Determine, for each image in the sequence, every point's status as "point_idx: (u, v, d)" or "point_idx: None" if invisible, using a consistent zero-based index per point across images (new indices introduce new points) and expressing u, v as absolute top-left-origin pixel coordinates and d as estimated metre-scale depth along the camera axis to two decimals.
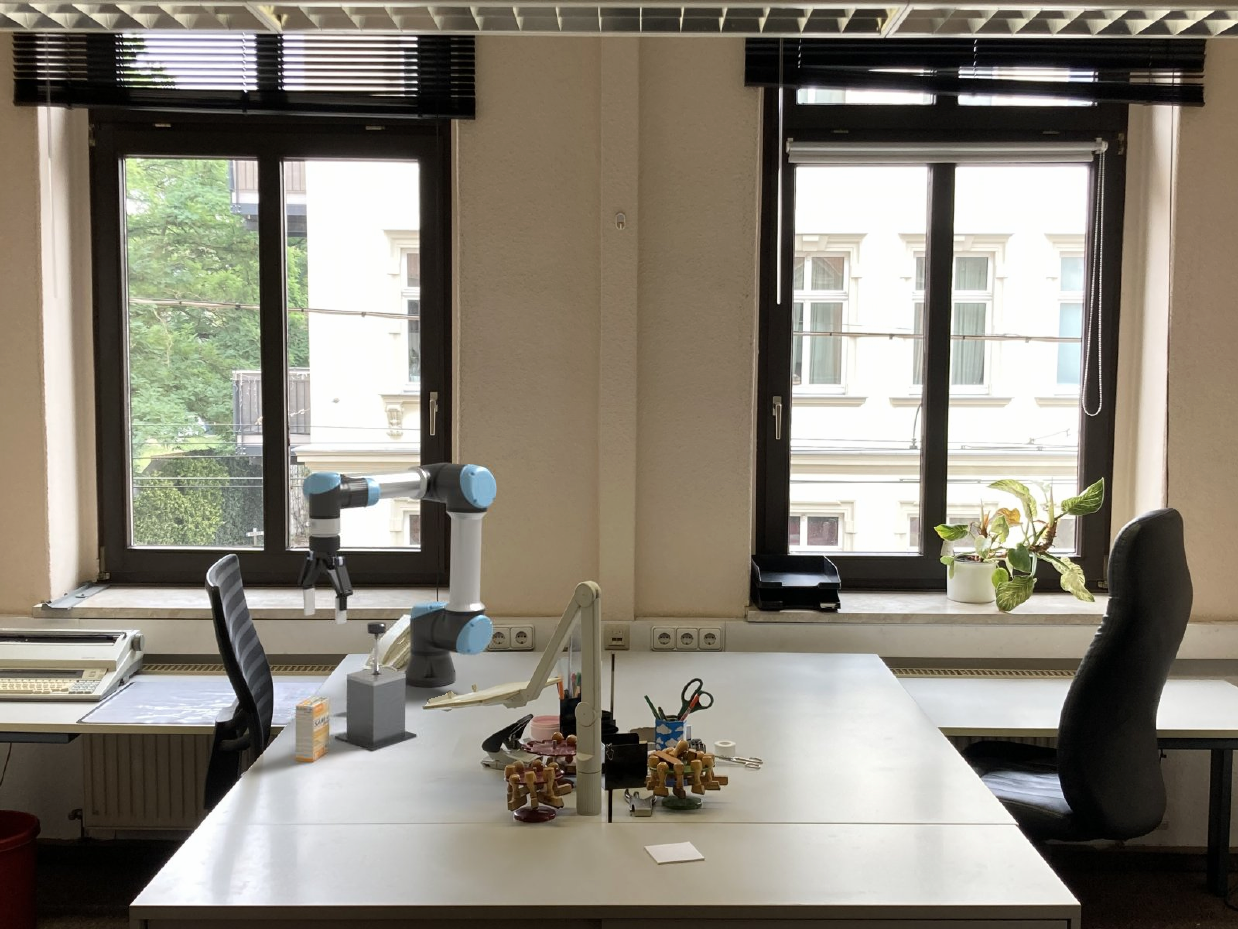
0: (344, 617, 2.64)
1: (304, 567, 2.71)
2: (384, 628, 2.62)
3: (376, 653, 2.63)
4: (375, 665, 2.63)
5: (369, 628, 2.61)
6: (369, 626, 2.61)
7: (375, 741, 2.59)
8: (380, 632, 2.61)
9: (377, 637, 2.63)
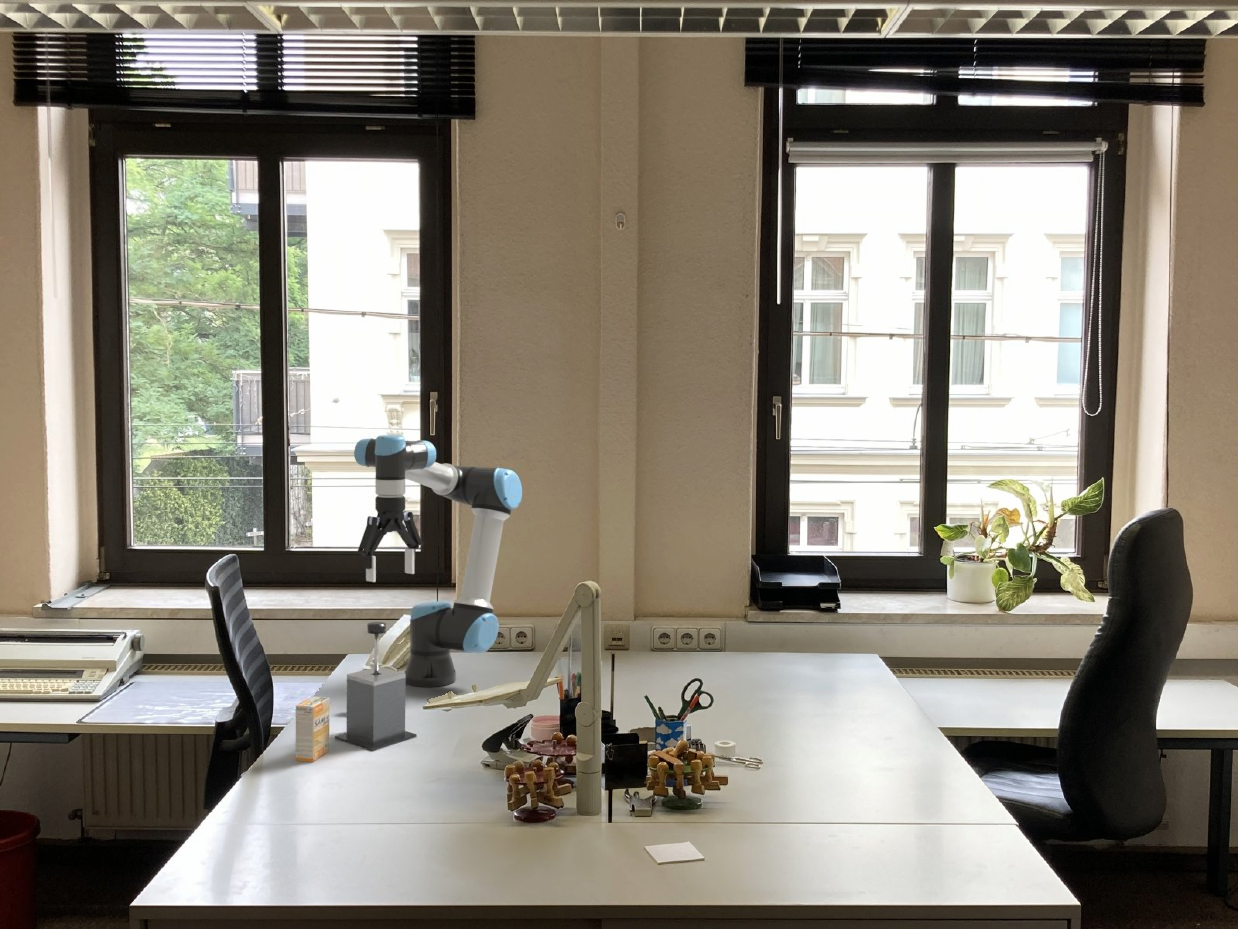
0: (372, 576, 2.71)
1: None
2: (384, 628, 2.62)
3: (376, 653, 2.63)
4: (375, 665, 2.63)
5: (369, 628, 2.61)
6: (369, 626, 2.61)
7: (375, 741, 2.59)
8: (380, 632, 2.61)
9: (377, 637, 2.63)
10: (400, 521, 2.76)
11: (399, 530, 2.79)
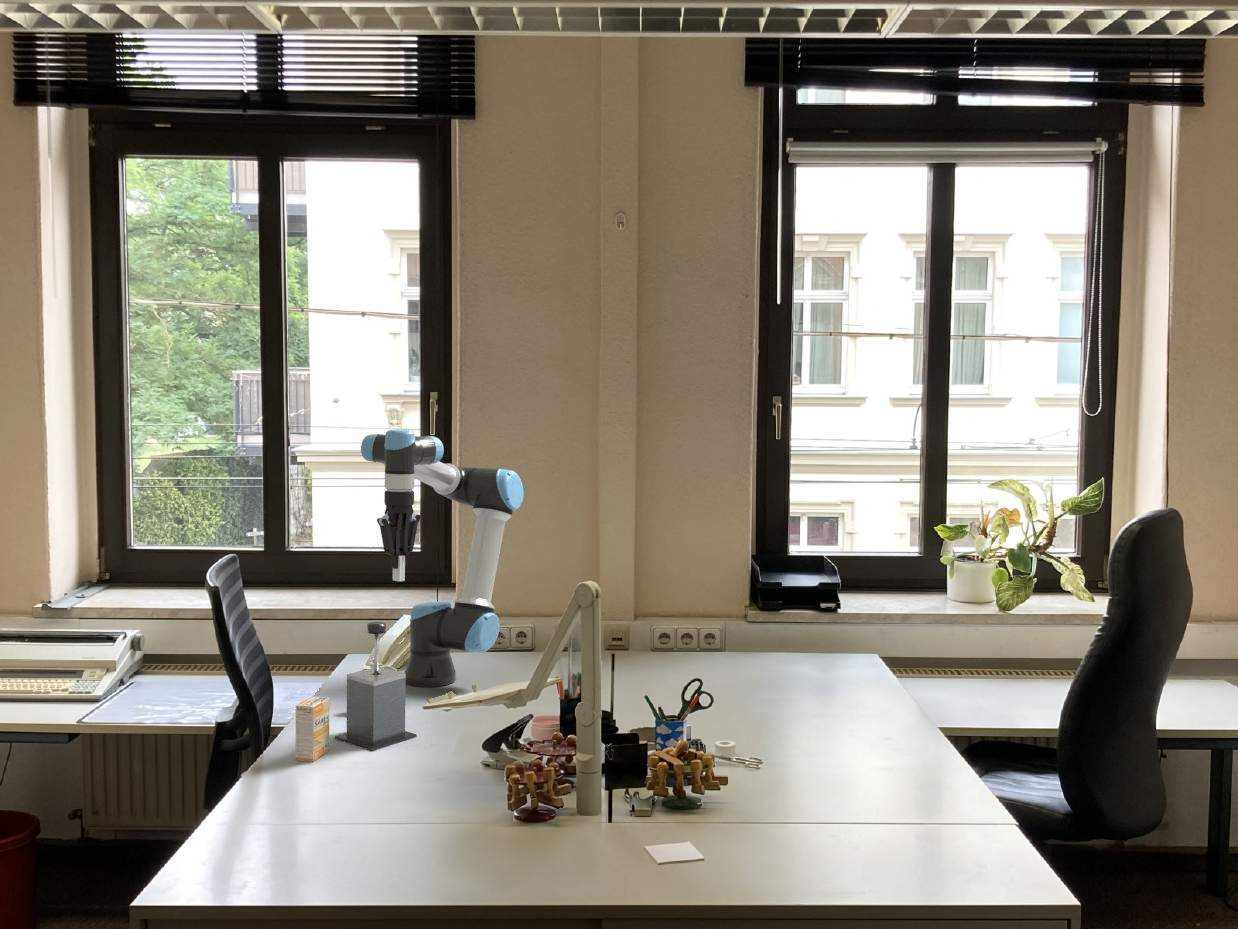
0: (398, 575, 2.77)
1: None
2: (384, 628, 2.62)
3: (376, 653, 2.63)
4: (375, 665, 2.63)
5: (369, 628, 2.61)
6: (369, 626, 2.61)
7: (375, 741, 2.59)
8: (380, 632, 2.61)
9: (377, 637, 2.63)
10: (408, 516, 2.77)
11: (401, 527, 2.78)
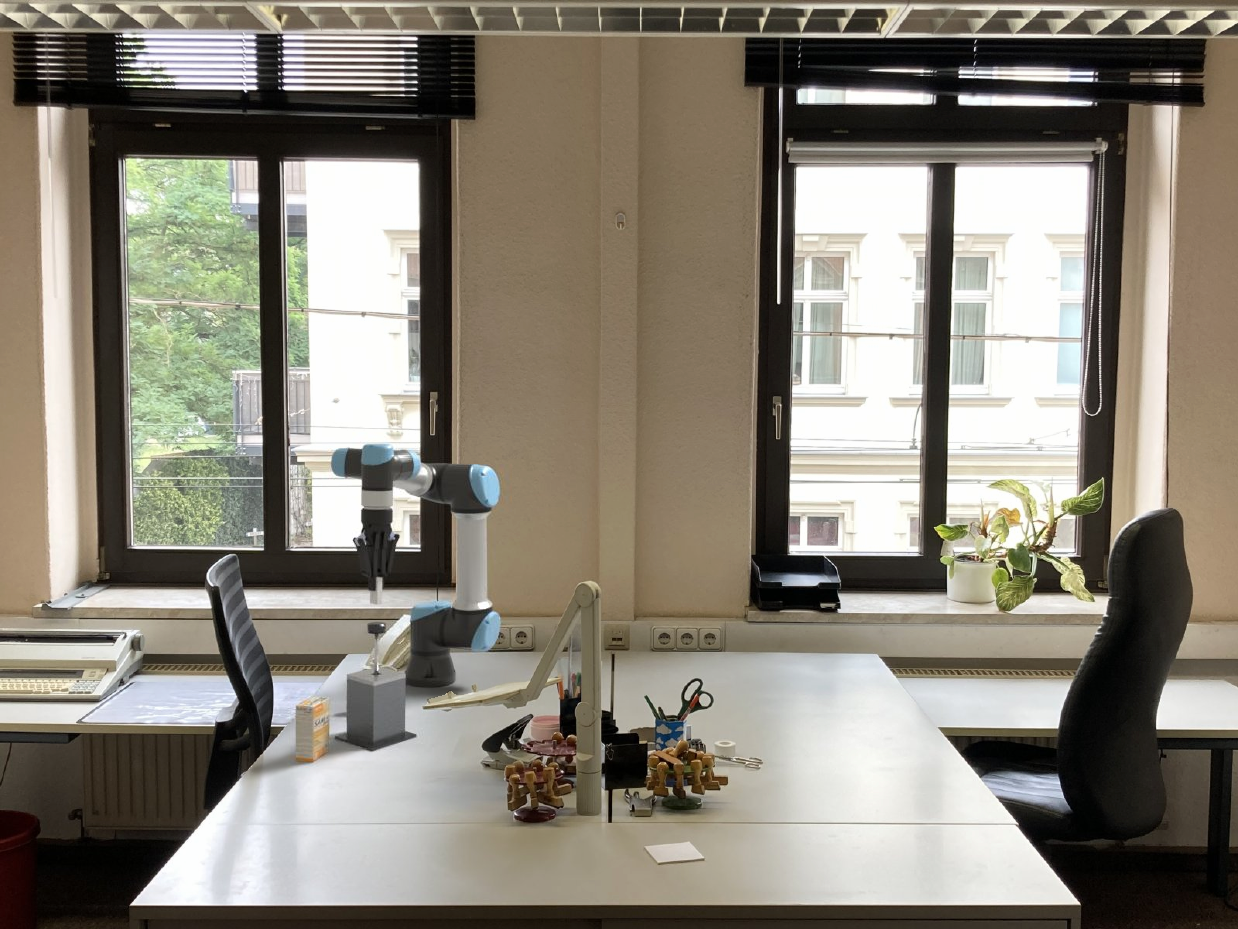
0: (375, 598, 2.61)
1: None
2: (384, 628, 2.62)
3: (376, 653, 2.63)
4: (375, 665, 2.63)
5: (369, 628, 2.61)
6: (369, 626, 2.61)
7: (375, 741, 2.59)
8: (380, 632, 2.61)
9: (377, 637, 2.63)
10: (386, 535, 2.61)
11: (379, 547, 2.62)
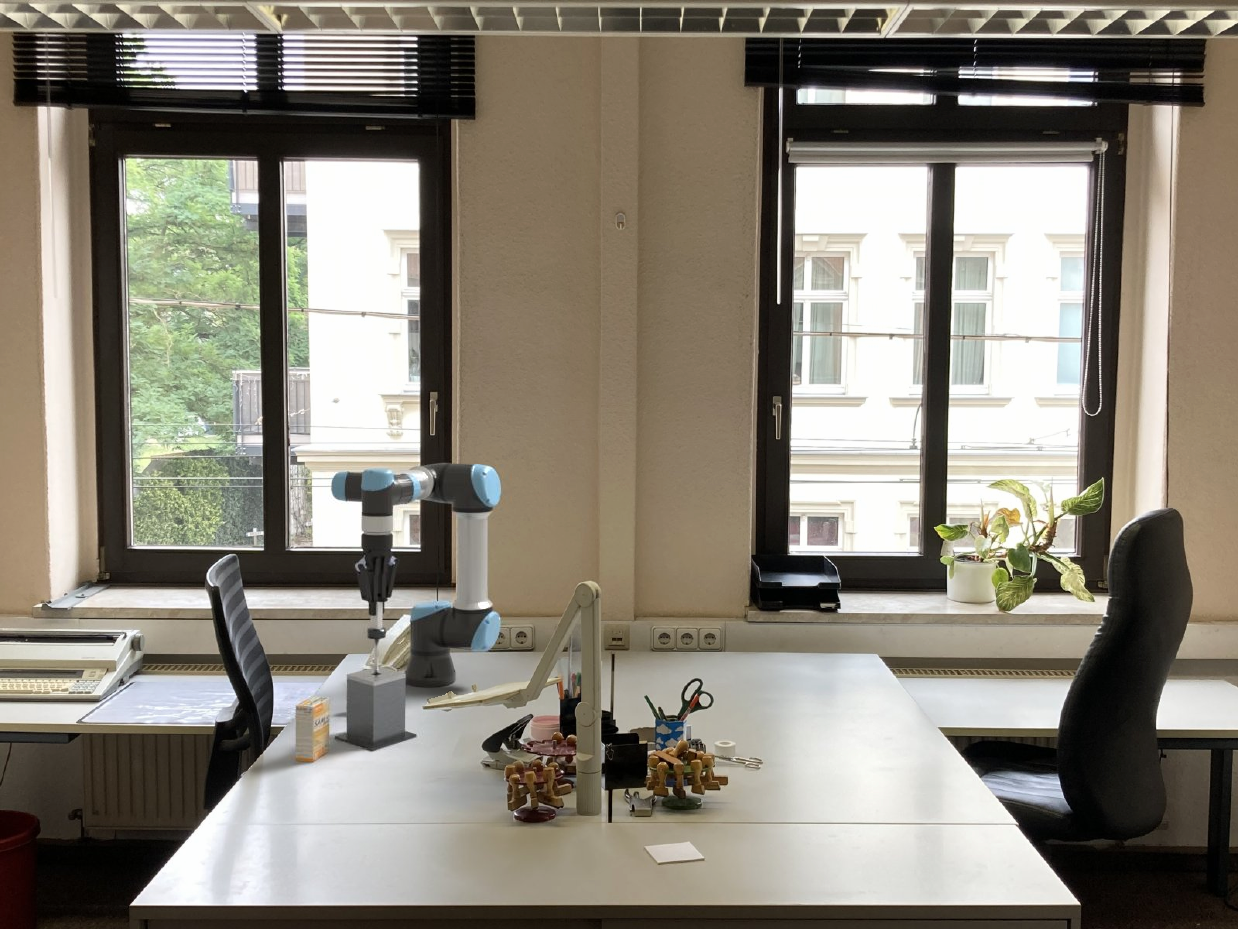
0: (376, 623, 2.62)
1: None
2: (384, 633, 2.62)
3: (376, 658, 2.63)
4: (375, 670, 2.63)
5: (369, 633, 2.61)
6: (369, 631, 2.61)
7: (375, 741, 2.59)
8: (380, 637, 2.61)
9: (377, 642, 2.63)
10: (386, 560, 2.62)
11: (379, 572, 2.62)
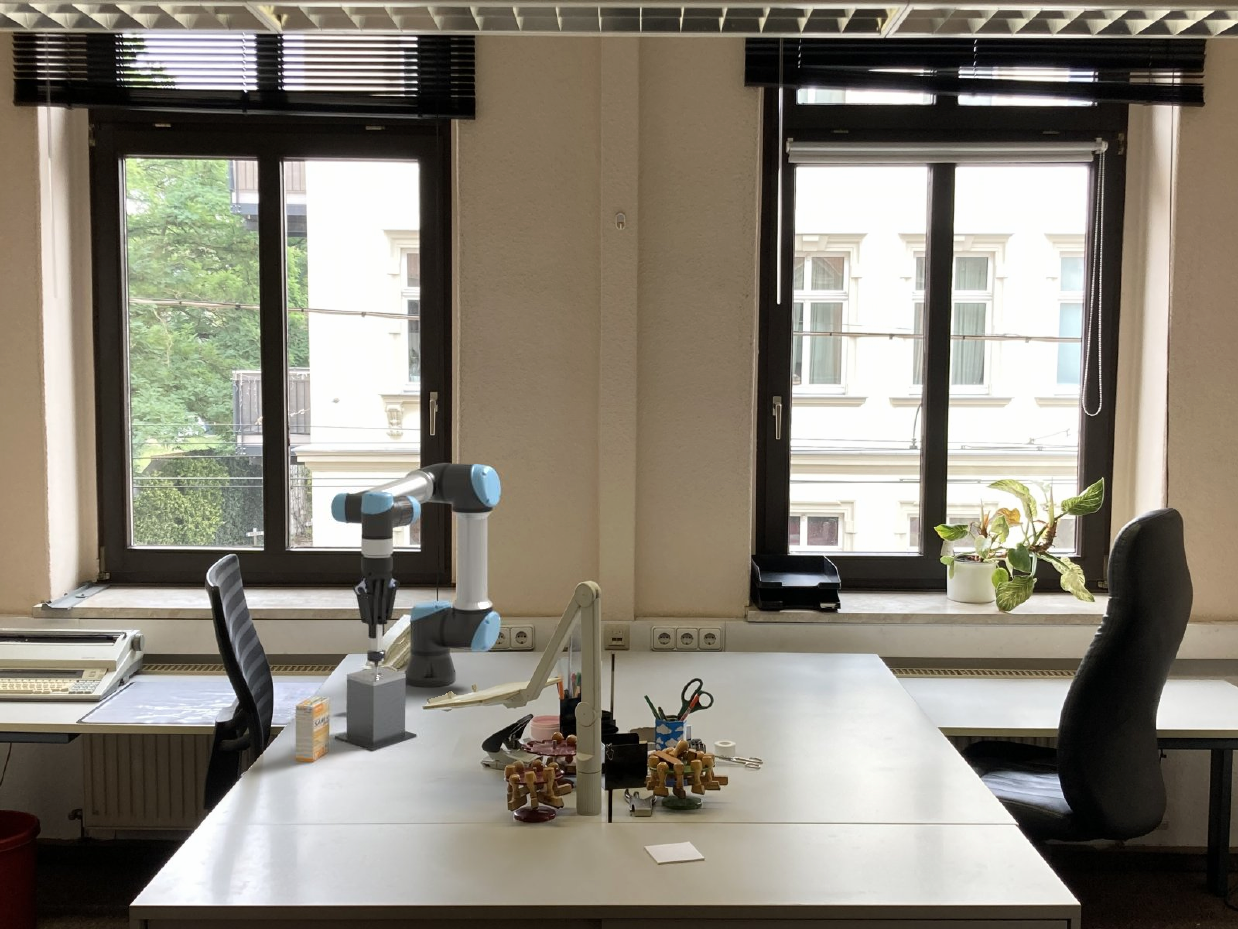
0: (376, 646, 2.62)
1: None
2: (384, 656, 2.63)
3: None
4: None
5: (369, 656, 2.62)
6: (369, 654, 2.62)
7: (375, 741, 2.59)
8: (380, 660, 2.62)
9: (376, 664, 2.63)
10: (386, 583, 2.62)
11: (379, 594, 2.63)
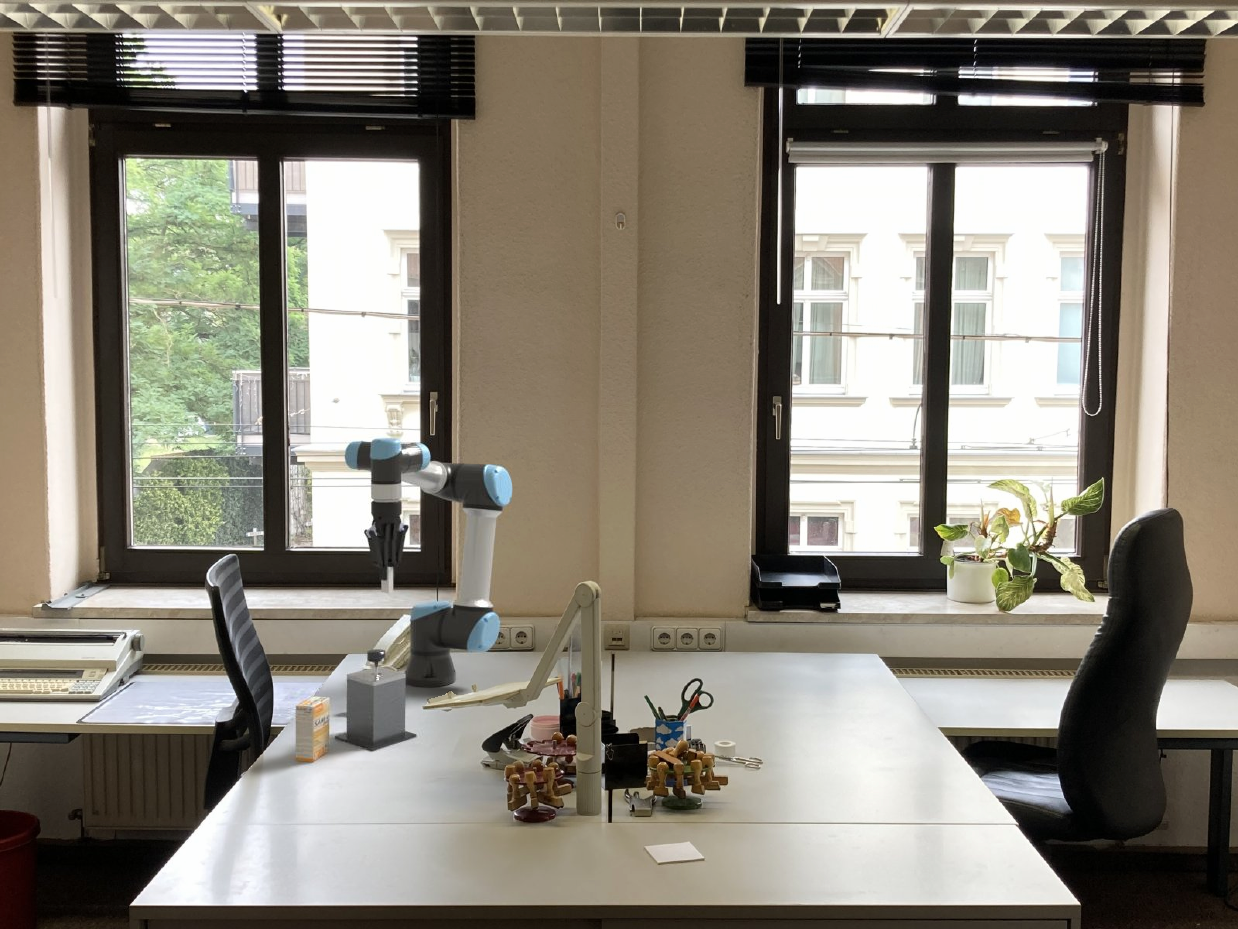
0: (387, 587, 2.71)
1: None
2: (384, 656, 2.63)
3: None
4: None
5: (369, 656, 2.62)
6: (369, 654, 2.62)
7: (375, 741, 2.59)
8: (380, 660, 2.62)
9: (376, 664, 2.63)
10: (396, 527, 2.70)
11: (389, 538, 2.71)
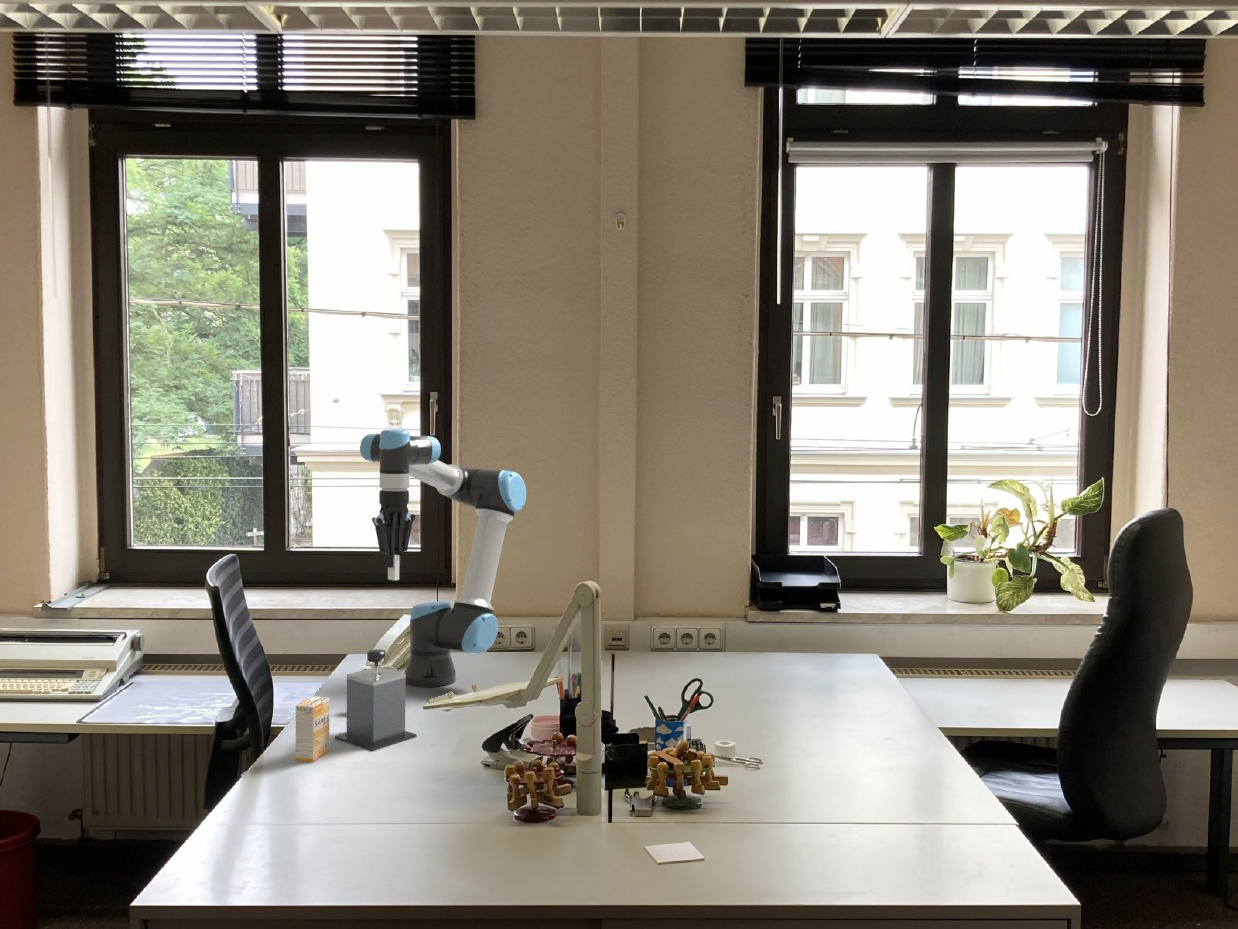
0: (393, 574, 2.78)
1: None
2: (384, 656, 2.63)
3: None
4: None
5: (369, 656, 2.62)
6: (369, 654, 2.62)
7: (375, 741, 2.59)
8: (380, 660, 2.62)
9: (376, 664, 2.63)
10: (403, 516, 2.78)
11: (396, 526, 2.79)
